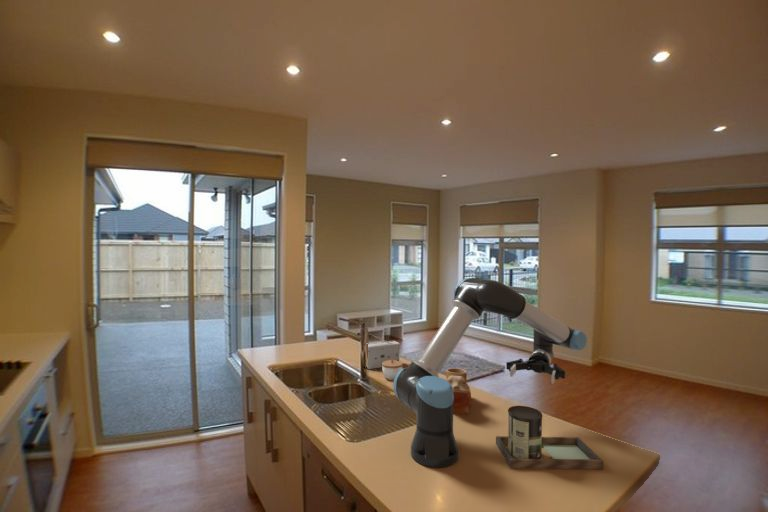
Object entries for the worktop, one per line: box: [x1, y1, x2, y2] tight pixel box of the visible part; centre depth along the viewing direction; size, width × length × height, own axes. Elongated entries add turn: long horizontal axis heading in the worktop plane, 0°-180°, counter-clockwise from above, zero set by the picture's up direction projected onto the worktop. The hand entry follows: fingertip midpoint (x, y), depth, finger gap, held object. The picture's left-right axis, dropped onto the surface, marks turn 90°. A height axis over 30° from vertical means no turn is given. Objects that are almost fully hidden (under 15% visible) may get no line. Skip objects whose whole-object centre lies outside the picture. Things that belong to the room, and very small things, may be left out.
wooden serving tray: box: [495, 435, 604, 470], centre depth 119 cm, size 28×15×2 cm, turn 90°
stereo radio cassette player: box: [366, 333, 401, 370], centre depth 212 cm, size 21×8×20 cm, turn 115°
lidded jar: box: [381, 360, 403, 381], centre depth 192 cm, size 11×11×9 cm
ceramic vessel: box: [444, 367, 472, 415], centre depth 159 cm, size 14×26×15 cm, turn 170°
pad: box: [542, 445, 589, 459], centre depth 119 cm, size 12×12×1 cm
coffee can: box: [507, 405, 543, 459], centre depth 119 cm, size 10×10×14 cm
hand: (531, 376), depth 130 cm, fingers open, 13 cm apart
